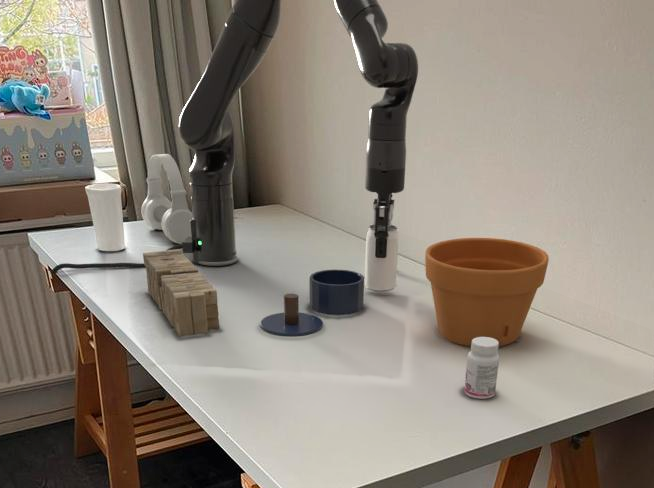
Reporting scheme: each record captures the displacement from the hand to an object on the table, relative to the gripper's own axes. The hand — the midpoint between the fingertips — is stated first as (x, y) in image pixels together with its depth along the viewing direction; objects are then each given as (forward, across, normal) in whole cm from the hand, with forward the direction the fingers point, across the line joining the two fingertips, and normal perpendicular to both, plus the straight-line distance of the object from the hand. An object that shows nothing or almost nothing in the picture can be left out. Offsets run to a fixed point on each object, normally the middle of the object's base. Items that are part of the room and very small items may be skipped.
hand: (381, 252), depth 156 cm
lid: (+8, +22, -15) cm, 28 cm away
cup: (+9, -25, -66) cm, 71 cm away
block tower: (+9, +16, -37) cm, 41 cm away
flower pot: (+9, +20, +19) cm, 29 cm away
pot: (+9, +10, -8) cm, 15 cm away
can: (+7, 0, 0) cm, 7 cm away
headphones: (+9, -40, -56) cm, 69 cm away
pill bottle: (+9, +46, +18) cm, 50 cm away
